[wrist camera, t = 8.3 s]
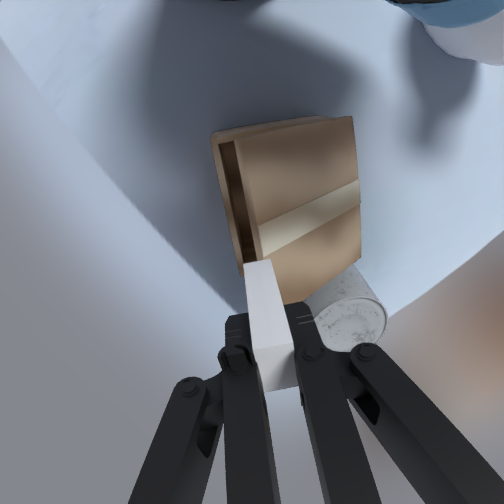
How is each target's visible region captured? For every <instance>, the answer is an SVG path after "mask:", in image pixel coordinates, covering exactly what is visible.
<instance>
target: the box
mask: <svg viewBox="0 0 504 504" xmlns="http://www.w3.org/2000/svg"><path fill="white" fill-rule="evenodd" d="M332 118H334V117H326V116H309V117H301V118H293V119H286V120H279V121H273V122H266V123H260V124H254V125H248V126H243V127H238V128H232V129H227V130H222V131H217V132H214V133H213V135H212V136H211V138H210V142H211V147H212V151H213V156H214V161H215V165H216V170H217V175H218V179H219V184H220V188H221V193H222V197H223V202H224V206H225V211H226V215H227V220H228V224H229V229H230V233H231V238H232V242H233V246H234V251H235V255H236V260H237V264H238V268H239V273H240V276H244V267H243V264H245V263H250V262H256V261H257V256H256V251H255V246H254V241H253V236H252V230H251V225H250V220H249V215H248V210H247V205H246V200H245V194H244V189H243V184H242V179H241V174H240V169H239V164H238V159H237V154H236V149H235V144H234V140H235V139H239V138H243V137H247V136H251V135H255V134H259V133H263V132H267V131H272V130H276V129H281V128H285V127H290V126H295V125H300V124H305V123H310V122H315V121H320V120H326V119H332Z"/></svg>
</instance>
